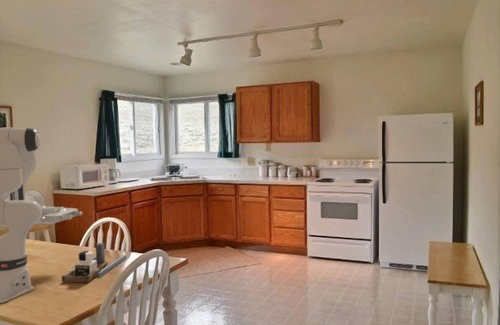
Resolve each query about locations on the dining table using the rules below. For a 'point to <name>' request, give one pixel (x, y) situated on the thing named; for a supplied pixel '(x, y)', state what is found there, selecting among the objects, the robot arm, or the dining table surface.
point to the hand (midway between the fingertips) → (76, 215)
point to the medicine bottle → (85, 264)
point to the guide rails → (109, 265)
